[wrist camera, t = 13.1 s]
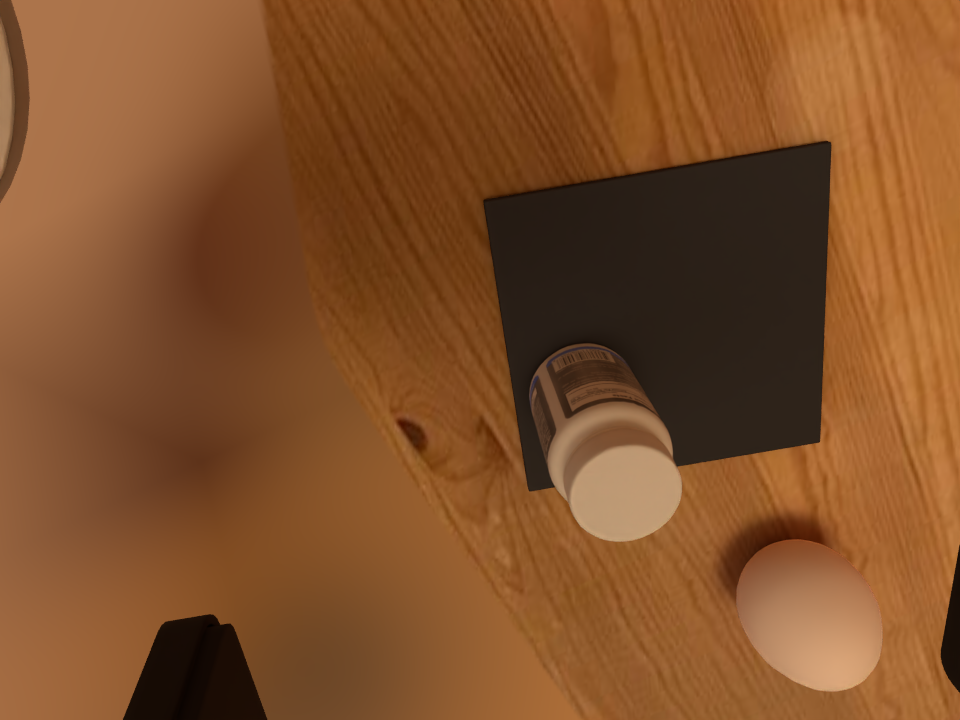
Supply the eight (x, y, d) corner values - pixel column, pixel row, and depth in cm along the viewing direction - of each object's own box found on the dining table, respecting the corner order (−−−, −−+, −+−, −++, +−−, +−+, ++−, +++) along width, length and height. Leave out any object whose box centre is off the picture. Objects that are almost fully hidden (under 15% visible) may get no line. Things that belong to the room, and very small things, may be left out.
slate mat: (527, 487, 36) (529, 492, 36) (483, 199, 30) (483, 201, 30) (816, 438, 36) (820, 442, 36) (827, 140, 30) (832, 142, 30)
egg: (856, 546, 39) (949, 659, 32) (774, 622, 41) (845, 746, 34) (774, 492, 37) (853, 599, 30) (692, 574, 39) (749, 694, 32)
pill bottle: (592, 451, 35) (638, 571, 27) (507, 406, 34) (531, 518, 26) (654, 371, 33) (721, 475, 26) (568, 321, 32) (612, 414, 25)
